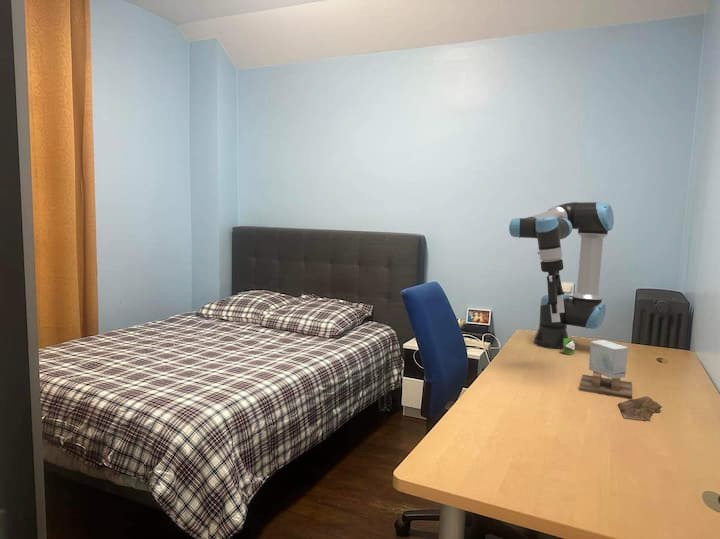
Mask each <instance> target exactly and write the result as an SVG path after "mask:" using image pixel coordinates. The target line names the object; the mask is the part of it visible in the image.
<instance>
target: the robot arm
mask: <svg viewBox="0 0 720 539" xmlns="http://www.w3.org/2000/svg"><path fill="white" fill-rule="evenodd" d="M614 219H615V218H614V211H613V208H612V206H611V205H610V204H609V203H607V202H600V201H599V202H597V201H596V202H595V201H594V202H589V201H586V202H582V201H581V202H577V201H574V202H573V201H571V202H566V203H561V204H558V205H556V206H553V207H550V208H549V209H548V210H547V211H544V212H541V213H538V214H534V215H531V216H528V217H523V218H522V217H518V218H517V217H514V218H512V219H511V220H510V222H509V226H508V231H509V234H510V236H511V237H513V238H519V239H520V238H524V239H525V238H526V239H536V240H537V244H538V251H537V255H539V260H540V269H541V272H543V273H548V274H547V276H546V282H547V283H546V284H547V294H546V295H543V296H542V297H541V299H540V300H541V301H540V305H539V306H540V308H539V309H540V310H539V326H538V329H537V332H536V334H535V336H534V339H533V343H534V345H536V346H539V347H541V348H546V349H555V350H564V349H563V347H562V346H563V343H562V341H563V338H569V334H568V332H567V326H574V327H579V328H583V329H584V328H586V329H592V330H593V329H595V330H596V329H599V328H600V327H601V325H602V323H603V321H604V319H605V316H606V311H607V305H606V303H604V302H602V297H601V296H600V294H599V291H600V290H599V289H600V279H601V269H602V268H601V266H602V257H603V256H602V254H603V245H604V244H603V242H604V238H606V237H607V236H608V232H609V231H612V230H613V229H614V224H615V223H614V222H615V220H614ZM573 230H577V234H578V236H579V237H580V250H579V259H578V260H579V262H578V273H577V285H576V286H577V287H576V292H575V293H574V294H573V295H572V298H570V296H569V294H566V293H565V291H564V290H563V287H562V282H561V281H562V280H561V274H560V271H563V270H564V262H563V259H562V258H563V250H562V246H561V240H563V239H566V238H567V237H568V236H570V235H571V233H572V232H573ZM563 342H564V341H563ZM561 343H562V344H561ZM560 348H561V349H560Z"/></svg>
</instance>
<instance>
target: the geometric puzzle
mask: <svg viewBox="0 0 720 539" xmlns="http://www.w3.org/2000/svg"><path fill="white" fill-rule="evenodd" d="M563 341H564V342H563ZM563 341H562V343H563V346H562V347H563V349H561V348H560V349H559V350H563V352H564V353H565V355H573V354H575V352H576V347H577V346H579V344H578V343H577V342H575V340H573V339H572V337H571V338H570V337H568V338H563ZM562 343H561V344H562ZM575 346H576V347H575Z"/></svg>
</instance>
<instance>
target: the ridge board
mask: <svg viewBox="0 0 720 539" xmlns="http://www.w3.org/2000/svg"><path fill="white" fill-rule="evenodd" d="M621 379H622V377H621V378H614V379H612V378H609V377H602V374H599V373H597V372H594V371H592V375H588V374H582V375H581V380H580V383H579V387H578V391H581V392H587V393H593V394H599V395H605V396H611V397H617V398H622V399H627V400H632V399H633V383H632V381H627V380H621Z"/></svg>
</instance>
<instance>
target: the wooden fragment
mask: <svg viewBox="0 0 720 539" xmlns="http://www.w3.org/2000/svg"><path fill="white" fill-rule="evenodd" d="M617 405H618V407H619V410H620V412H621V414H622V417H623V420H624V419H625V420H631V421H641V422H651V417H652V416H653V414H657V413H660V412H662V411H661V408H663V406H662V405H660V403H658V402H657V401H655V400H653V399H652V398H651V397H650V396H648V395H647V396H643V397H637V398H634V399H633V398H632V399H627V400H625V401H623V402H622V401H621V402H618V404H617Z"/></svg>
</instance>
